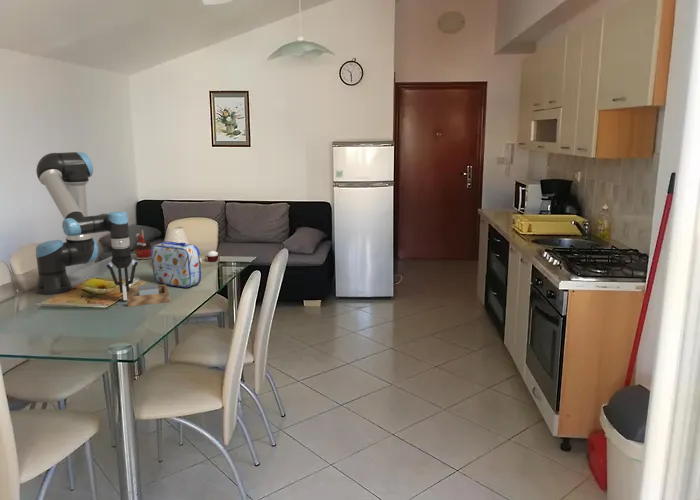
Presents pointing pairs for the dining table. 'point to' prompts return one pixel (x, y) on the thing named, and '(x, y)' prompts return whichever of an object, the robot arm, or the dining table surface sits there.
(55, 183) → the robot arm
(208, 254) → the cocoa
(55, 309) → the dining table surface
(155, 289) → the gray block
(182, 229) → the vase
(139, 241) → the cake
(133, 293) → the bay
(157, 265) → the lunch box
